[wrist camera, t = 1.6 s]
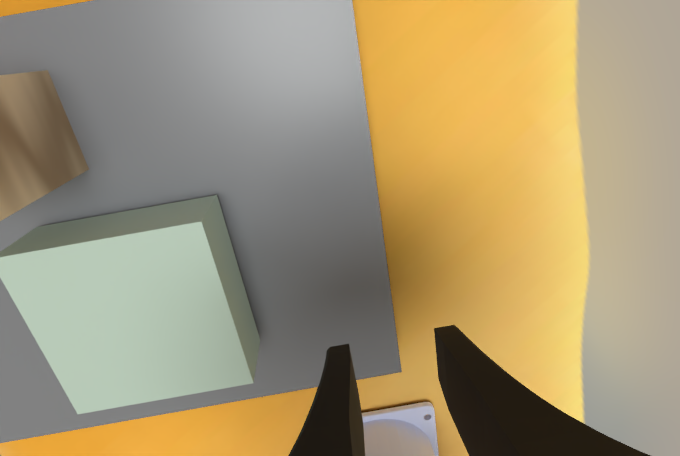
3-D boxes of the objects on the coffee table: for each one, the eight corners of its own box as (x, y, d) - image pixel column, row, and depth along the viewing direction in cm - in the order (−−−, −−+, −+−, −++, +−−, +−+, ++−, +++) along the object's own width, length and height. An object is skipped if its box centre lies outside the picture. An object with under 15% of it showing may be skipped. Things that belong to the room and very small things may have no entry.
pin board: (393, 342, 26) (401, 371, 24) (6, 411, 26) (-23, 447, 24) (341, -34, 18) (346, -45, 16) (-221, 66, 18) (-299, 70, 16)
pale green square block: (260, 340, 22) (253, 383, 19) (106, 367, 22) (77, 414, 19) (216, 194, 19) (201, 221, 16) (36, 226, 19) (-11, 258, 16)
